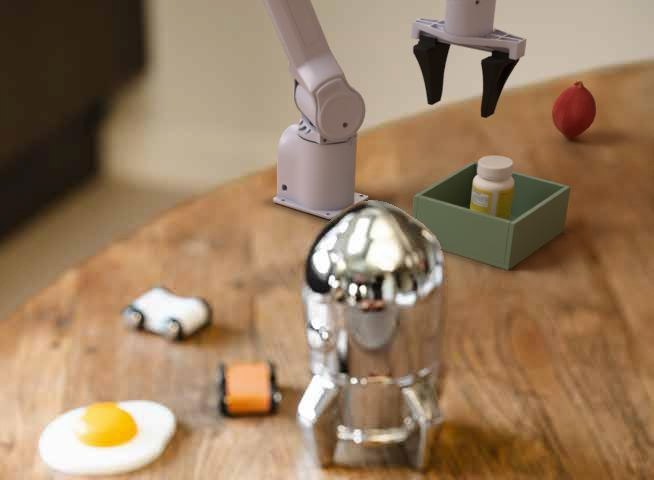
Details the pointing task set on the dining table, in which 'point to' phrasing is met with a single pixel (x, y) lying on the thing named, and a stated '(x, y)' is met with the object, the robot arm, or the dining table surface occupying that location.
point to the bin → (492, 217)
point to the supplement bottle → (493, 187)
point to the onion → (574, 110)
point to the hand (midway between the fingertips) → (460, 108)
